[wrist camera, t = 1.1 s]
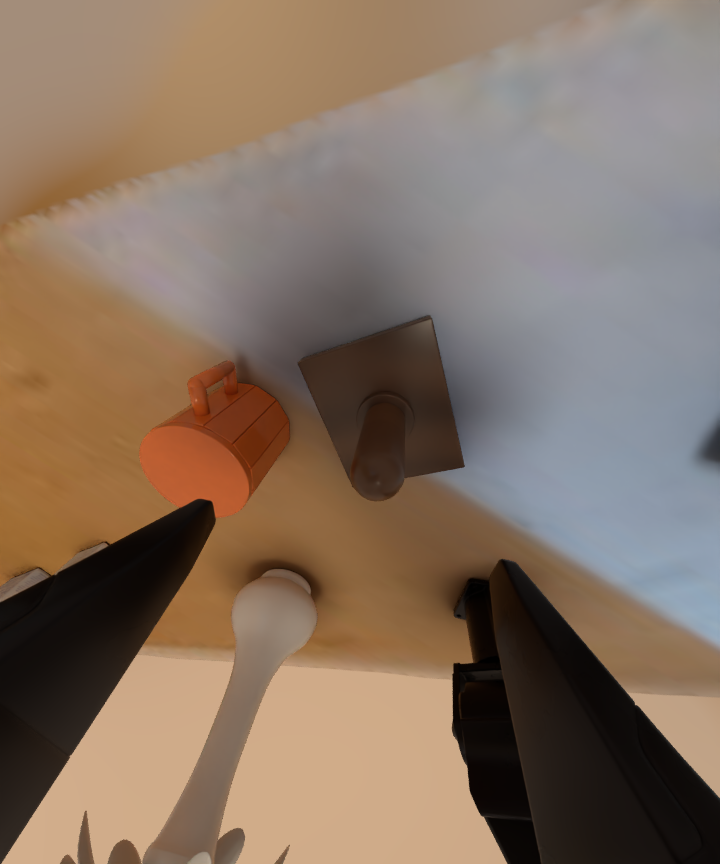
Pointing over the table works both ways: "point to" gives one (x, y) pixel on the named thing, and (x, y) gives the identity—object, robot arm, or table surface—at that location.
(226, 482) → the orange cup
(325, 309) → the table surface
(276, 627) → the flower vase
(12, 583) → the medicine box
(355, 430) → the cup stand
